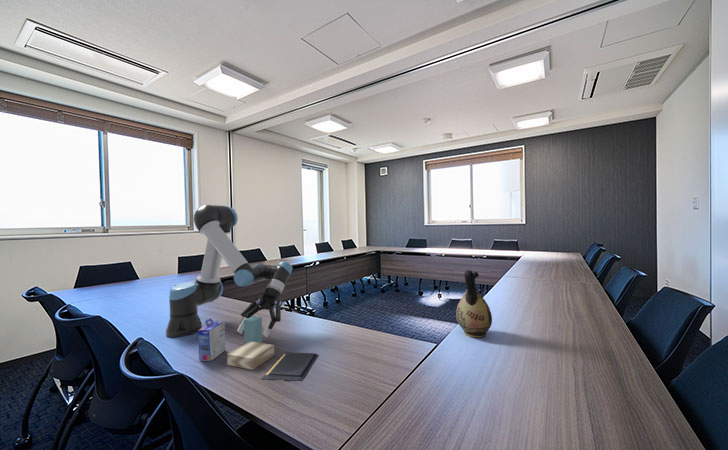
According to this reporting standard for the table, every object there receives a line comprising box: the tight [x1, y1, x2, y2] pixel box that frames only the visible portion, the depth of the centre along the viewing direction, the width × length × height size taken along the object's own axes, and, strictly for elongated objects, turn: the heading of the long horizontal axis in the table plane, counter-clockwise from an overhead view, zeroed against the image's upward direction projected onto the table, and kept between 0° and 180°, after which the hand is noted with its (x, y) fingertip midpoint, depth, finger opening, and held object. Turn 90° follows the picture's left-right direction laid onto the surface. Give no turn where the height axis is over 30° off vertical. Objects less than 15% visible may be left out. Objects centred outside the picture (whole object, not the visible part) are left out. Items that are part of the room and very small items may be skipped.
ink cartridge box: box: [197, 317, 227, 362], centre depth 113 cm, size 10×6×14 cm, turn 174°
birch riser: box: [226, 341, 275, 370], centre depth 108 cm, size 12×12×4 cm
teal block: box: [243, 315, 263, 344], centre depth 120 cm, size 5×5×12 cm
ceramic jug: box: [455, 269, 493, 338], centre depth 128 cm, size 17×15×30 cm
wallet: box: [261, 351, 320, 382], centre depth 103 cm, size 20×2×15 cm
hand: (251, 334), depth 119 cm, fingers open, 13 cm apart
